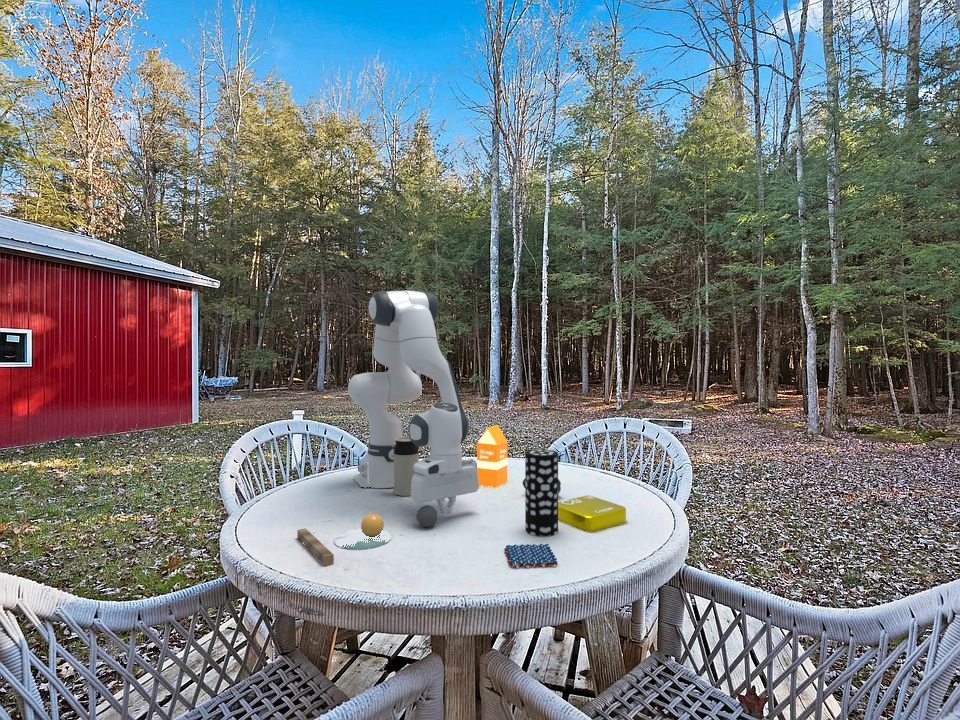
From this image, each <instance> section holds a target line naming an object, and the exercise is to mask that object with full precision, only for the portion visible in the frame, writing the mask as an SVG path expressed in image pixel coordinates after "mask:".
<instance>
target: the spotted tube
mask: <svg viewBox="0 0 960 720" xmlns="http://www.w3.org/2000/svg"><path fill="white" fill-rule="evenodd" d="M524 457H525V458H524V459H525V461H524V463H525V467H524V468H525V470H524V471H525V473H524V474H525V478H524V479H525V488H524V490H525V491H524V493H525V495H524V496H525V499H524V500H525V501H524V502H525V503H524V504H525V505H524V506H525V508H524V509H525V513H524V514H525V515H524V516H525V532H526V533H527V534H530V535H533V536H535V535H536V536H537V537H550V536H551V537H552V536H555V535H556V534H558V533H559V521H558V502H559V494H558V479H559V452H558V451H555V450H551V449H543V448H542V449H539V448H537V449H530V450H526V451H525V456H524Z"/></svg>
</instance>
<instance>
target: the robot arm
mask: <svg viewBox="0 0 960 720" xmlns="http://www.w3.org/2000/svg"><path fill="white" fill-rule="evenodd" d="M368 313H369V318H370V320H371V321H372V322H373V323H374V324H375V330H374V338H373V348H372V349H373V350H372V353H373V354H372V356H373V358H374V359H375V361H376V362H377V363H379V364H381V365H382V366H384V367H386V368H388V370H387V371H383V372H382V371H381V372H379V371H377V372H375V371H373V372H363V373H362V372H361V373H359V374H354V375H353V376H352V377H351V378H350V379H349V382H348V384H347V385H348V386H347V393H348V396H349V398H350V399H351V401H352V402H354V403H355V404H356V405H358V407H360V408H361V410H363V412H364V414H365V415H366V417H367V421H368V427H369V443H368V444H367V445H368V446H367V455H366V456H365V457H364V458H363V459H362V460H361V461H360V463H359V465H357V472H358V473H357V474H355V475H353V478H354V479H355V480H354V479H353V478H352V479H353V480H354V481H355V482H356V484H357V483H358V484H359V485H360V486H359V485H358V484H357V485H358V486H359V488H361V487H364V488H363V489H366V488H367V487H368V488H369V487H371V489H390V488H394V447H395V445H396V441H395V438H397V437H403V422H402V420H401V419H400V417H399V416H397V415H395V414H393V413H392V412H390V411H387V409H386V405H387V404H399V403H400V404H403V403H408V402H412V401H416V400H418V398H419V397H420V396H421V394H422V392H423V391H422V390H423V384H422V383H423V382H422V380H421V378H420V376H419V375H418V374H421V375H423V376H426V377H428V378H430V379H431V380H433V382H434V383H435V384H436V385H437V387H438V390H439V395H440V399H441V402H436V403H433V404H432V405H431V407H430V408H429V409H428V410H426V411H425V412H421V413H418V414H416V415H414V416H413V417H412V418H411V419H410V421H409V424H408V436H409V438H410V440H411V441H412V442H413V443H414V444H415V445H416V446H418V448H419V447H421V448H427V447H429V449H430V451H429V455H428V456H426V457H425V458H423V459H422V460H419V462H417V463H415V464H414V466H413V470H414V471H415V472H416V473H415V474H414V475H413V477H412V482H411V496H410V498H411V500H412V501H414V502H415V503H417V504H423V503H429V502H434V501H436V503H437V504H438V506H439V513H440V514H441V515H446V514H452V513H453V507H454V505H455V503H456V501H457V497H458V496H462V495H467V494H473V493H476V492H478V490H479V488H480V485H479V480H478V473H477V460H474V459H472V458H468V459H463V448H462V443H463V442H464V441H465V439H467V436H468V434H469V431H470V423H469V422H470V421H469V420H468V417H467V415H466V413H465V411H464V408H463V405H462V401H461V397H460V393H459V390H458V386H457V383H456V378H455V376H454V372H453V371H454V370H453V368H452V366H451V364H450V361H449V360H447V358H446V357H444V355H443V353H442V351H441V350H440V347H439V344H438V343H439V342H438V337H437V330H436V326H435V321H436V319H437V317H438V315H439V303H438V298H436V296H435V295H434V294H433V293H432V292H431V293H430V292H428V291H416V290H389V291H386V290H382V291H376V292H374V293H373V294H372V295H370V298H369V302H368ZM416 373H418V374H416ZM368 488H367V489H368ZM445 499H448V502H447V504H446V505H445V504H444V503H445V501H446V500H445Z"/></svg>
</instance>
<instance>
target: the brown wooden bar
mask: <svg viewBox="0 0 960 720" xmlns="http://www.w3.org/2000/svg"><path fill="white" fill-rule="evenodd" d="M296 535H297V537H298V538H299V539H300V540H301V541H302V542H303V543H304V544H305V545H304V544H303V543H302V542H301V541H300V540H299V539H298V538H297V537H296V538H297V539H298V540H299V541H300V542H301V543H302V544H303V545H304V546H306V547H307V548H308V549H309V550H310V551H311V552H312V553H313V554H314V555H315V556H316V557H317V558H318V559H319V560H320V561H321V562H322V563H323V564H324V565H323V564H322V563H321V562H320V561H319V560H318V559H317V558H316V557H315V556H314V555H313V554H312V553H311V552H310V551H309V550H308V549H307V548H306V549H307V550H308V551H309V552H310V553H311V554H312V555H313V556H314V557H315V558H316V559H317V560H318V561H319V562H320V563H321V564H322V565H323V567H326V566H325V565H327V566H330V565H329V564H331V565H334V564H335V563H334V562H335V558H334V557H335V555H334V553H332V551H331V550H330V549H328V548H327V547H326V545H324V544H323V543H322V542H321V541H320V540H318V538H317V537H315V536H314V535H313V534H312V533H311V532H310V531H309V530H308V529H307V528H301V529H297V534H296ZM333 563H334V564H333Z"/></svg>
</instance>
